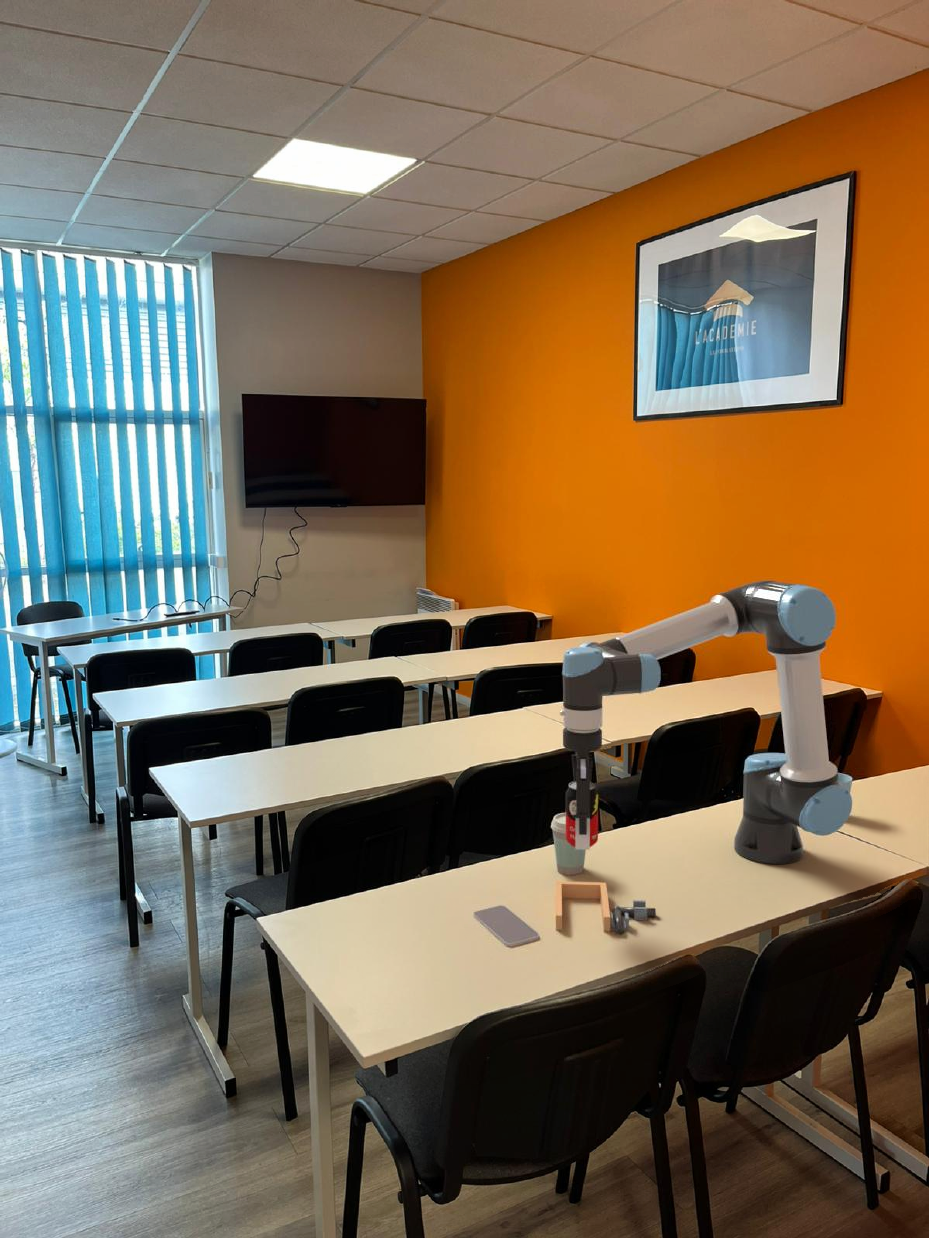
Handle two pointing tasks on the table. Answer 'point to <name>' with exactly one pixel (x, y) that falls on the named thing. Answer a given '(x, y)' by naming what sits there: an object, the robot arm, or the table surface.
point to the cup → (845, 781)
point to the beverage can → (572, 811)
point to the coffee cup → (566, 849)
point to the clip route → (637, 911)
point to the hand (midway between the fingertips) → (582, 841)
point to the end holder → (582, 891)
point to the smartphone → (506, 925)
